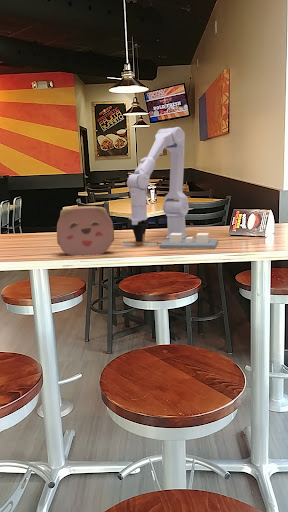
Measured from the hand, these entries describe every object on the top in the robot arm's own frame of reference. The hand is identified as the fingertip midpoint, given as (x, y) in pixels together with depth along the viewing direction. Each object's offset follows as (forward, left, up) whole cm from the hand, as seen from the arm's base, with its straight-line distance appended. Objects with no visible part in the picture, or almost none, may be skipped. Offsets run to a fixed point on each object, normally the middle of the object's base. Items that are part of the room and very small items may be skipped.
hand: (140, 241), depth 169 cm
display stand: (0, +19, -1) cm, 19 cm away
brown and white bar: (0, 0, -1) cm, 1 cm away
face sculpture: (+18, -15, -2) cm, 23 cm away
